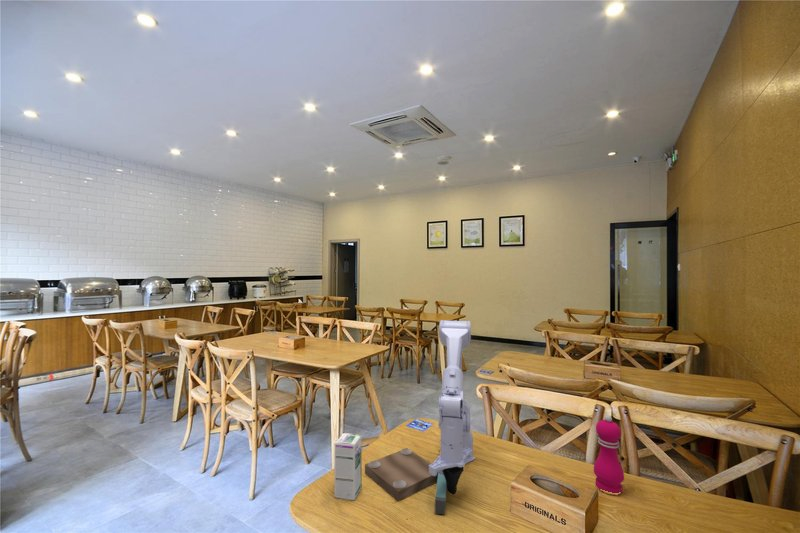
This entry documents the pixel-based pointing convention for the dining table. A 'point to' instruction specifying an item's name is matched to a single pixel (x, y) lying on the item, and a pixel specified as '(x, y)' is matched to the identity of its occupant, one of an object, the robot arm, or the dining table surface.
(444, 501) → the stool leg
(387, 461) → the stool seat
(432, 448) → the dining table surface
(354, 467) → the syrup box
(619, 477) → the pepper mill
